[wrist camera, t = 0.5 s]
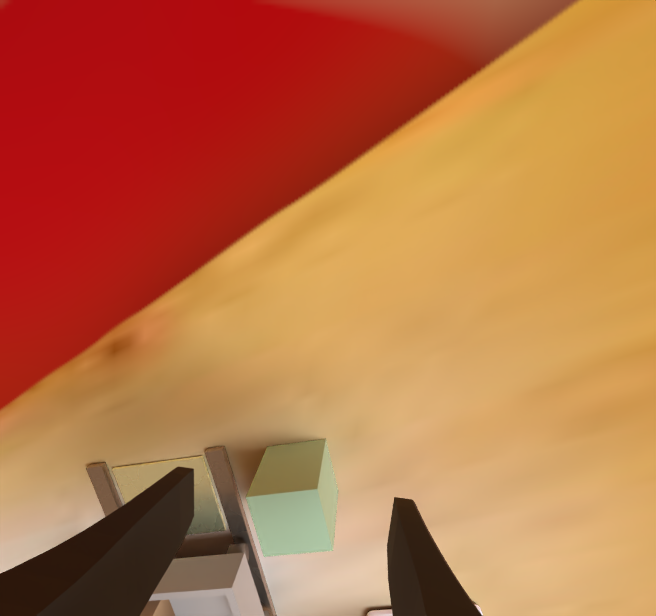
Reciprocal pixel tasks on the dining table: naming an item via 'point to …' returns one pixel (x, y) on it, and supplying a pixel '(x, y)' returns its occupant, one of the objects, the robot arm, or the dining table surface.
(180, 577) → the grey shallow tray
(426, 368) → the dining table surface
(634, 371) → the dining table surface
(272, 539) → the green block
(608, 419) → the dining table surface
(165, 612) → the copper block
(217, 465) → the rails
